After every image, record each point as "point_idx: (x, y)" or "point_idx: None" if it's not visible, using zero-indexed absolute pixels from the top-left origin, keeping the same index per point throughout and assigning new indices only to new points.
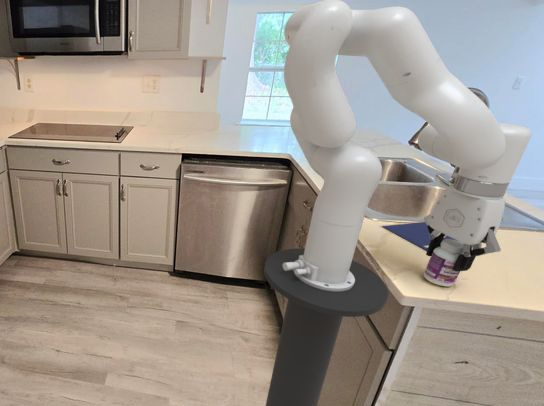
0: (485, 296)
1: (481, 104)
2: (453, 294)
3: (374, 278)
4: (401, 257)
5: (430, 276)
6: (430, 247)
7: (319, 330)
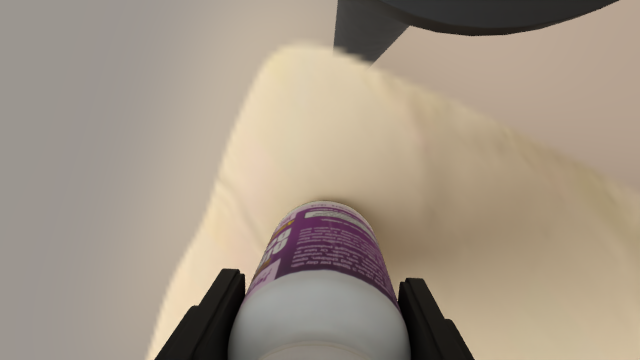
0: None
1: None
2: (236, 222)
3: None
4: (520, 270)
5: (322, 207)
6: (431, 319)
7: None
